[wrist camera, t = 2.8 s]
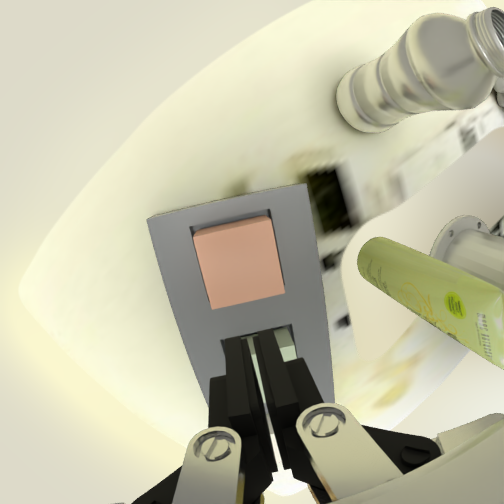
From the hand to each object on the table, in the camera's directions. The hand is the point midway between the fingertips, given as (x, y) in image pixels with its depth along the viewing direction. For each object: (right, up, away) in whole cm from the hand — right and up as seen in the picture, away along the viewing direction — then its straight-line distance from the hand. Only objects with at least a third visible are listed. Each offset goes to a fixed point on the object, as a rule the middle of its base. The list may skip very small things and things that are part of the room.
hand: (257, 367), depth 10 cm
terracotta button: (-1, +4, +16) cm, 17 cm away
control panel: (+1, -6, +21) cm, 22 cm away
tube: (+13, +4, +20) cm, 24 cm away
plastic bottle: (+11, +19, +16) cm, 27 cm away
